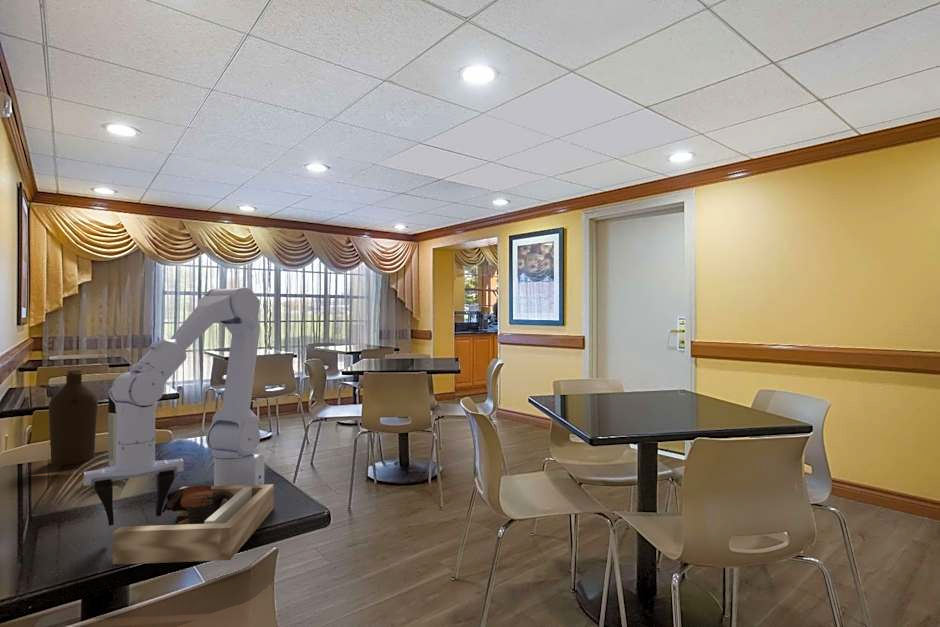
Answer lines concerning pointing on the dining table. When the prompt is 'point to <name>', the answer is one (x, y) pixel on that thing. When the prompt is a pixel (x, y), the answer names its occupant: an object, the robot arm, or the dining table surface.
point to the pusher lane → (194, 533)
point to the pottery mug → (196, 502)
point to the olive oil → (72, 422)
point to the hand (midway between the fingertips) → (135, 519)
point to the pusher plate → (231, 507)
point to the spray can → (112, 433)
